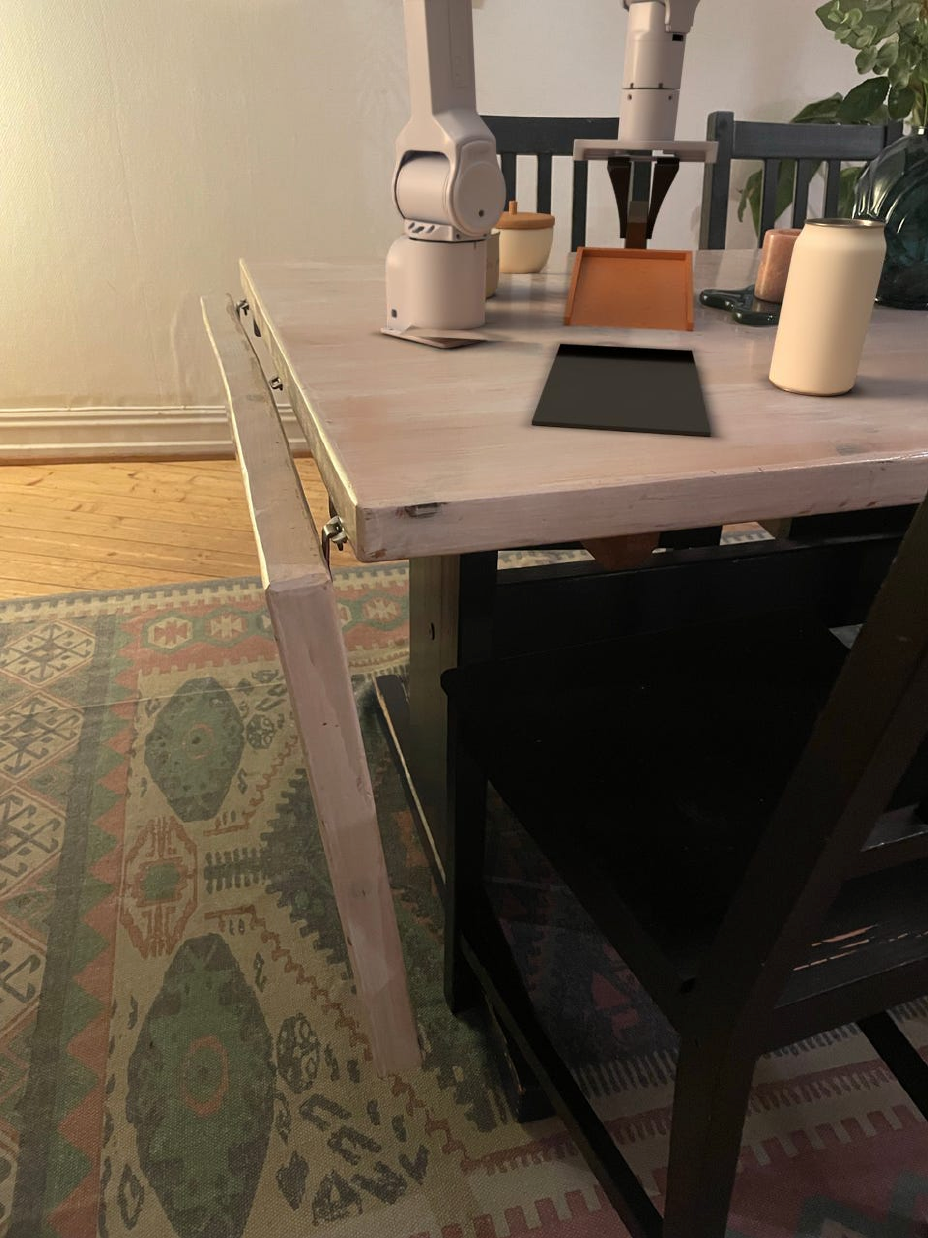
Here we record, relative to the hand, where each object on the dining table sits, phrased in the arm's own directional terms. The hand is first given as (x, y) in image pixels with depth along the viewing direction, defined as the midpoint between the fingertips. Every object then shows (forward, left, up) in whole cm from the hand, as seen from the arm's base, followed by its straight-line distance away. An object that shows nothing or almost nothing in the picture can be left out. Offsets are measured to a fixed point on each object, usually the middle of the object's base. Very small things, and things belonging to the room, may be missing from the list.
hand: (635, 237), depth 93 cm
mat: (+19, -26, -7) cm, 33 cm away
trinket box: (-23, +5, -8) cm, 24 cm away
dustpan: (+4, -6, -3) cm, 8 cm away
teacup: (-15, -13, -8) cm, 21 cm away
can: (+29, -15, -8) cm, 34 cm away
